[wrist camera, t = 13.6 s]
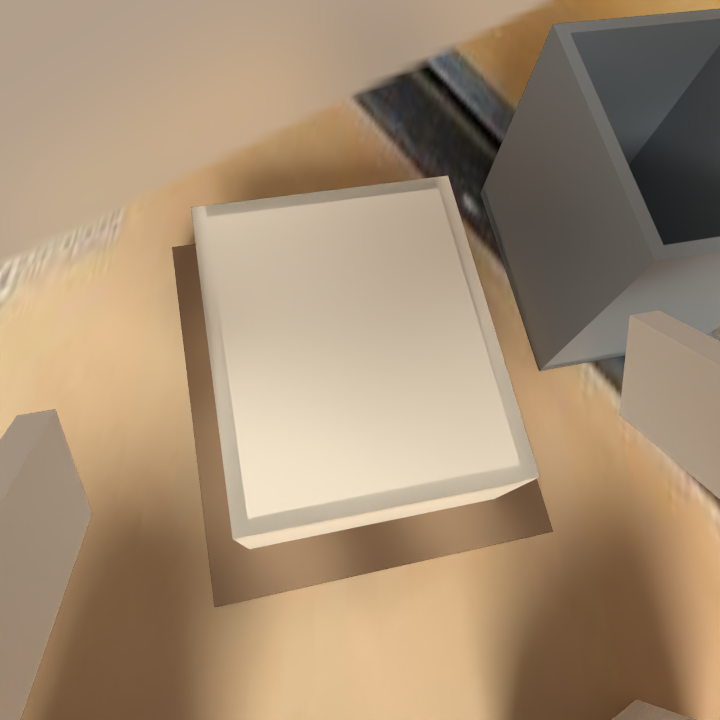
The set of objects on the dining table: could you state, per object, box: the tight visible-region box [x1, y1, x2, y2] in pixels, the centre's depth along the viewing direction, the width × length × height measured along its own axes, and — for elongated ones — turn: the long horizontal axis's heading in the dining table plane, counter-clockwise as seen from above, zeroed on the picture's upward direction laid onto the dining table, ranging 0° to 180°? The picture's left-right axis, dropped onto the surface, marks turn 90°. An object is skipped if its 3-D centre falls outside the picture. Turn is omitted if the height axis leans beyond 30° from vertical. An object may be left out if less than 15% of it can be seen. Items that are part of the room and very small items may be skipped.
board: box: [172, 244, 553, 607], centre depth 26 cm, size 13×15×2 cm
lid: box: [191, 176, 540, 549], centre depth 22 cm, size 10×12×5 cm
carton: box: [480, 9, 720, 371], centre depth 25 cm, size 8×10×10 cm
